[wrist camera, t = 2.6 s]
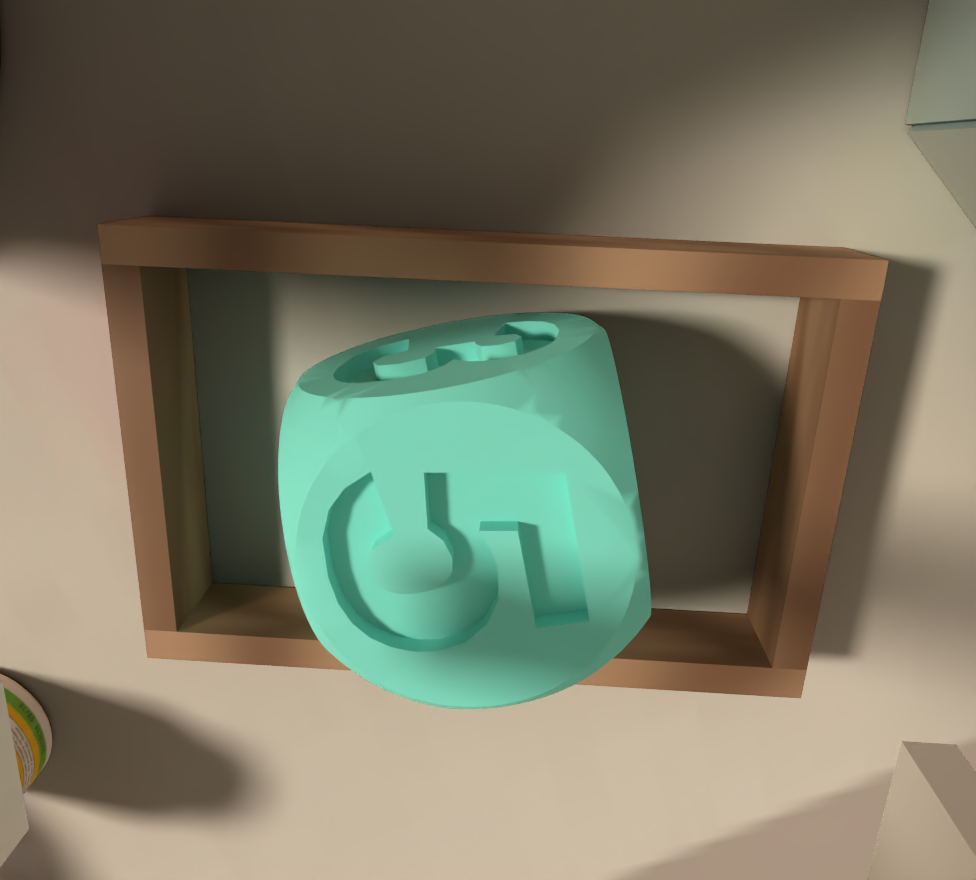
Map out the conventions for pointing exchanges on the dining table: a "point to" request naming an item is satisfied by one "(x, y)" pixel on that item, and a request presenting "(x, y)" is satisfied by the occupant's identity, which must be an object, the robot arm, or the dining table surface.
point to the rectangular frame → (499, 259)
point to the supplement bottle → (27, 731)
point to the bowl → (948, 98)
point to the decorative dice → (467, 509)
